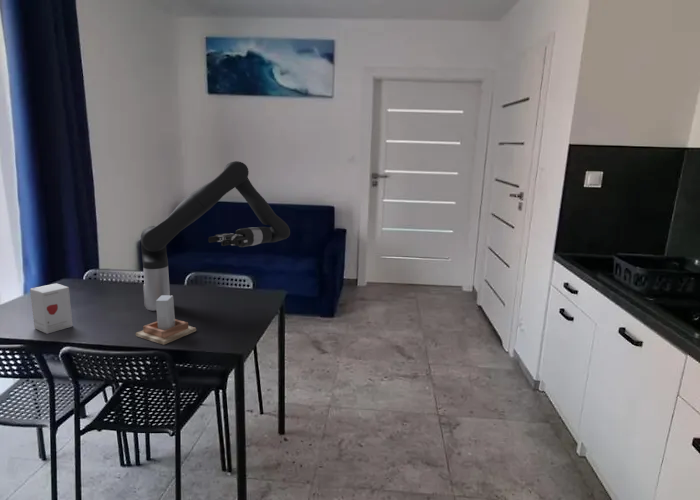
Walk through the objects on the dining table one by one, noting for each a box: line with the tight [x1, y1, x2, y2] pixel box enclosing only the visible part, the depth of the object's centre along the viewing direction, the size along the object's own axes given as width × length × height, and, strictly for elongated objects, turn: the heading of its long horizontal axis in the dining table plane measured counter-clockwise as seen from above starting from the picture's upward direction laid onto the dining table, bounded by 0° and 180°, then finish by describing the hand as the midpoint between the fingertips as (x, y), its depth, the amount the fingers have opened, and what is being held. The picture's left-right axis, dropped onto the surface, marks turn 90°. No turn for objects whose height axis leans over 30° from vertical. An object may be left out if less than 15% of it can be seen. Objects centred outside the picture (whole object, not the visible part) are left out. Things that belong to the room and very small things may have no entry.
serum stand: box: [135, 318, 197, 345], centre depth 159 cm, size 14×14×3 cm
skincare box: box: [156, 294, 176, 330], centre depth 158 cm, size 6×4×12 cm
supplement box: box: [29, 282, 73, 334], centre depth 161 cm, size 9×9×15 cm
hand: (215, 241), depth 175 cm, fingers open, 8 cm apart
